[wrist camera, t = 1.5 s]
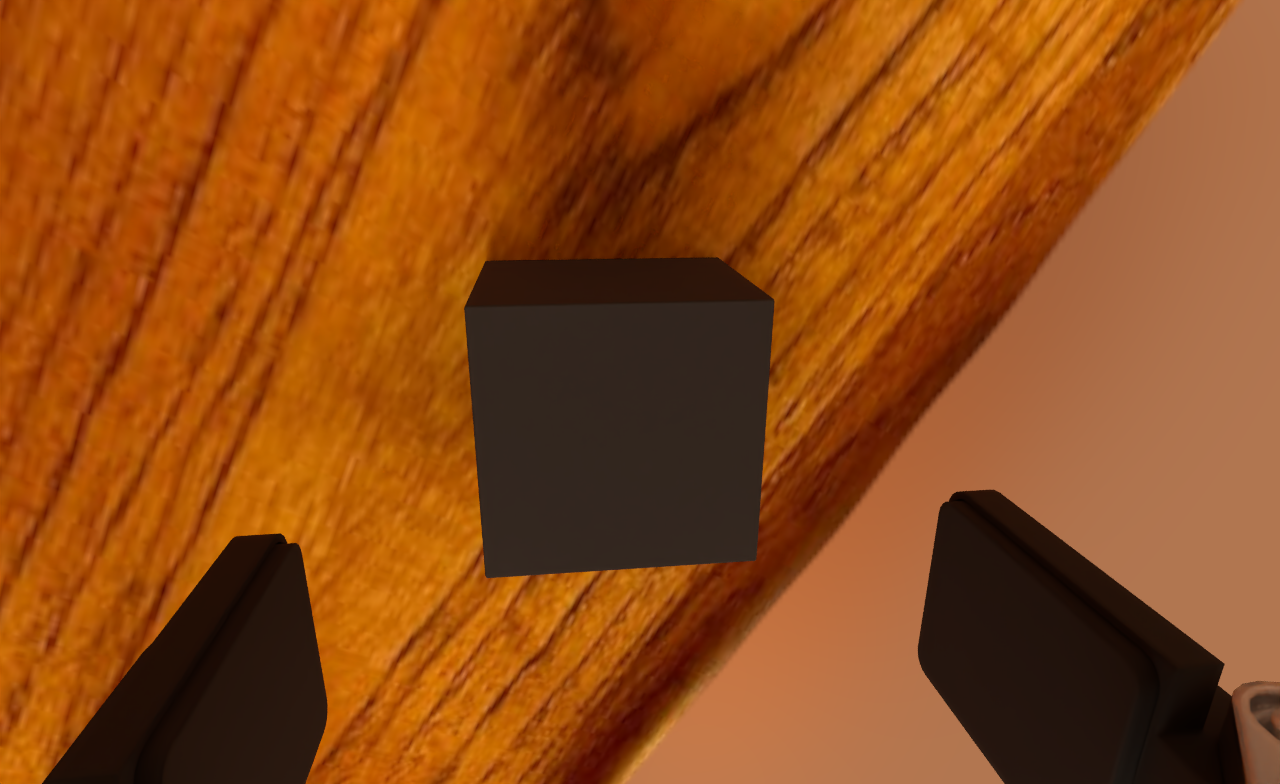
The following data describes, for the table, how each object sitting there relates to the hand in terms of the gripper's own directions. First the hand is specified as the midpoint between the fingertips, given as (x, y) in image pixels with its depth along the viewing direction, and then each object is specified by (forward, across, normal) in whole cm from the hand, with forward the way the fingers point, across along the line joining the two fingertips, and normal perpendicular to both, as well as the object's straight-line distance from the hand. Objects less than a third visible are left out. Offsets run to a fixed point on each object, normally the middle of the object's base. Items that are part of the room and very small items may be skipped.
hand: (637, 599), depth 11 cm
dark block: (+10, 0, 0) cm, 10 cm away
